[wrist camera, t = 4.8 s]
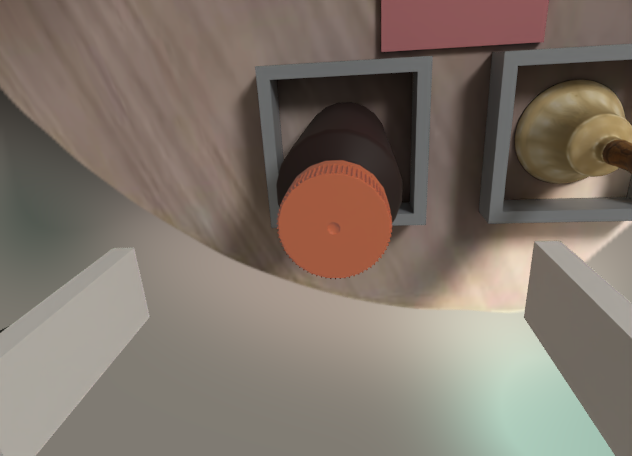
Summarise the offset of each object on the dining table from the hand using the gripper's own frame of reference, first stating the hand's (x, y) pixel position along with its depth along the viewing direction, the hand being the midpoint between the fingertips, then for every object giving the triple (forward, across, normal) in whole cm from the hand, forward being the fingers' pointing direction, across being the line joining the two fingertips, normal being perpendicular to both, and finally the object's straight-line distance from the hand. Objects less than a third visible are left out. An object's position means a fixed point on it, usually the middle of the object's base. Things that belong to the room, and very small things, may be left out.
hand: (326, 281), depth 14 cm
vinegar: (+24, 0, 0) cm, 24 cm away
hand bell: (+24, +18, 0) cm, 30 cm away
